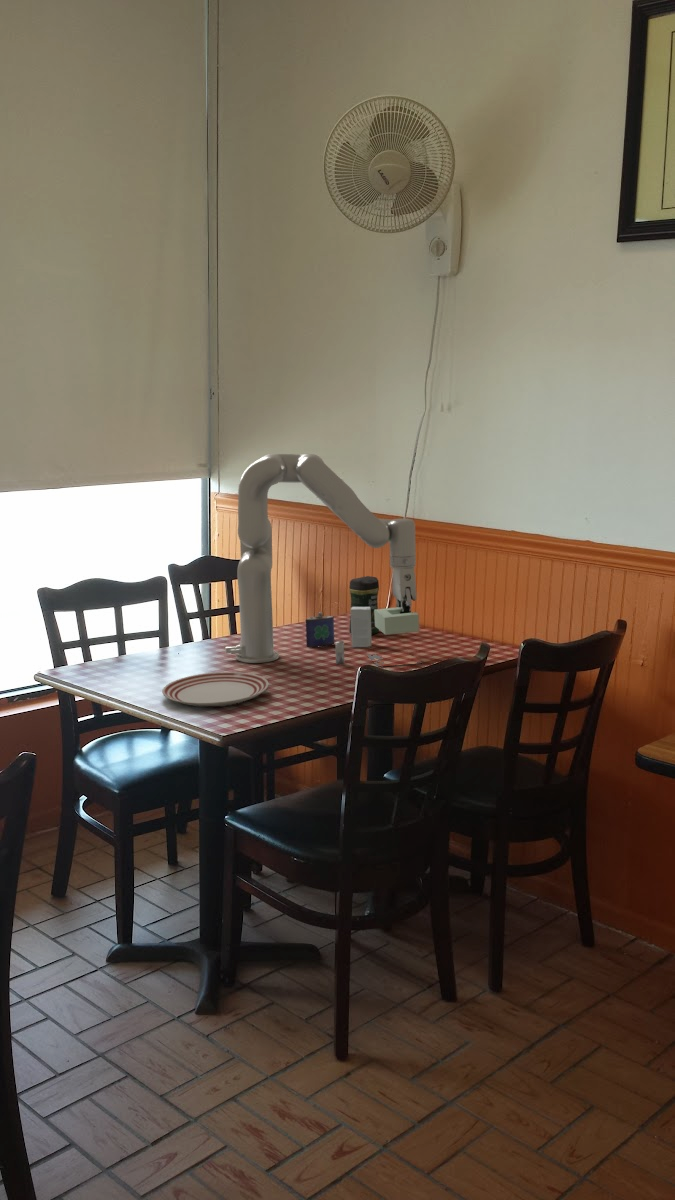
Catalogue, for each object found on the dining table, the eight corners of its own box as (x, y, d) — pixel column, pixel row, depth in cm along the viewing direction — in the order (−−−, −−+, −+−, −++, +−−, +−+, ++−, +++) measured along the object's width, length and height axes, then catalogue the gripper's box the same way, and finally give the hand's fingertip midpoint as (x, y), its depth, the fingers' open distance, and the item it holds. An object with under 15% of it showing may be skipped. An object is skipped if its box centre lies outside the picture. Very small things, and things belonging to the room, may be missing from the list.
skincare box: (371, 644, 330) (371, 606, 328) (370, 647, 326) (370, 609, 324) (352, 644, 331) (351, 606, 329) (351, 647, 327) (350, 609, 325)
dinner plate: (213, 720, 259) (212, 706, 258) (140, 700, 276) (140, 688, 276) (290, 694, 279) (290, 682, 278) (218, 678, 297) (218, 666, 296)
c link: (385, 634, 303) (384, 617, 302) (375, 626, 314) (374, 609, 313) (419, 631, 305) (418, 614, 304) (407, 622, 316) (407, 606, 315)
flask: (332, 643, 333) (331, 609, 331) (336, 645, 331) (335, 611, 328) (305, 646, 330) (304, 612, 327) (308, 648, 327) (307, 614, 325)
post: (336, 665, 306) (336, 643, 305) (335, 663, 309) (334, 641, 308) (345, 664, 307) (344, 642, 306) (343, 662, 309) (342, 640, 308)
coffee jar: (364, 638, 339) (363, 580, 335) (345, 634, 344) (344, 577, 341) (384, 632, 346) (383, 576, 342) (365, 629, 351) (364, 573, 348)
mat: (378, 667, 303) (378, 666, 303) (366, 655, 316) (366, 654, 316) (422, 664, 306) (422, 662, 306) (408, 652, 319) (408, 651, 319)
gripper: (423, 564, 304) (424, 628, 307) (407, 556, 319) (408, 616, 323) (397, 566, 302) (399, 630, 306) (383, 558, 318) (384, 618, 321)
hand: (403, 622), depth 314 cm, fingers closed on c link, 3 cm apart
